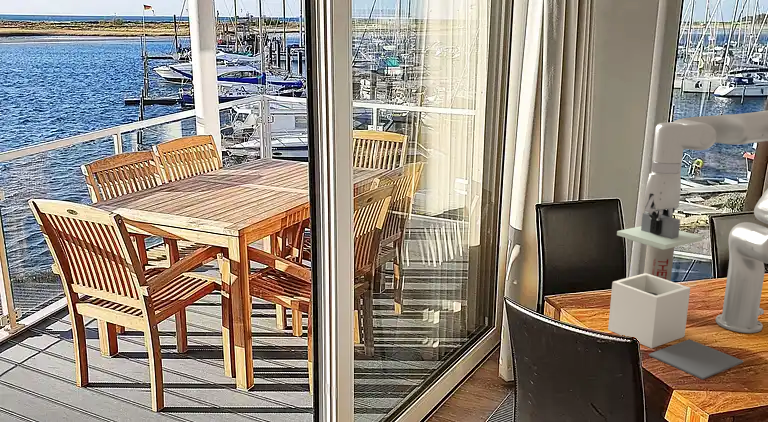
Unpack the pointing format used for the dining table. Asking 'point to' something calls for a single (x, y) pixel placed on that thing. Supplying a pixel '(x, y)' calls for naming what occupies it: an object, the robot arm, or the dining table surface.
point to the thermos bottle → (659, 262)
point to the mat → (696, 358)
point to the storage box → (649, 309)
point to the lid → (667, 237)
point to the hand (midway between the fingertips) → (659, 231)
